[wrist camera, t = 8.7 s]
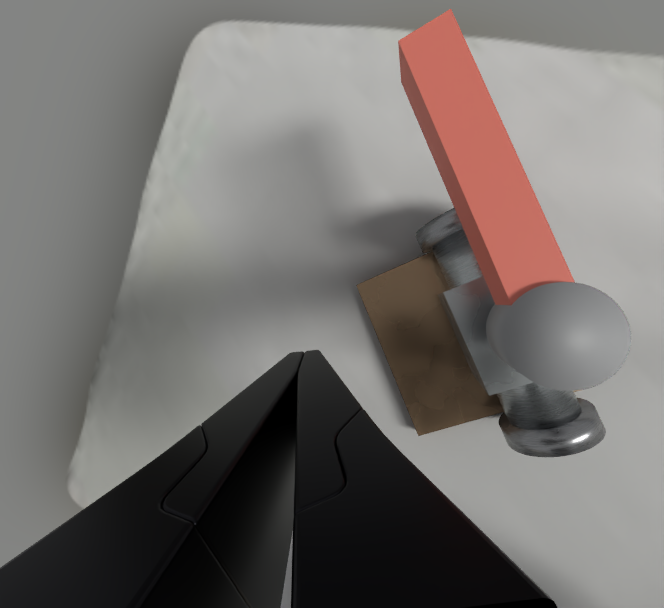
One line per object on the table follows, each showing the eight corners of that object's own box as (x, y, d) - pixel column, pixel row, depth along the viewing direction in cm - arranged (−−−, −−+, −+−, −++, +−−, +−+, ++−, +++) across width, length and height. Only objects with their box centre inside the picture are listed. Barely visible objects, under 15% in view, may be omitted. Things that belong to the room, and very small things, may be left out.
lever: (505, 383, 11) (527, 403, 9) (385, 94, 13) (378, 47, 10) (601, 357, 11) (652, 372, 8) (462, 50, 12) (473, -11, 9)
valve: (581, 402, 17) (683, 465, 10) (424, 445, 19) (428, 518, 13) (490, 209, 18) (530, 158, 11) (353, 272, 20) (323, 258, 14)
